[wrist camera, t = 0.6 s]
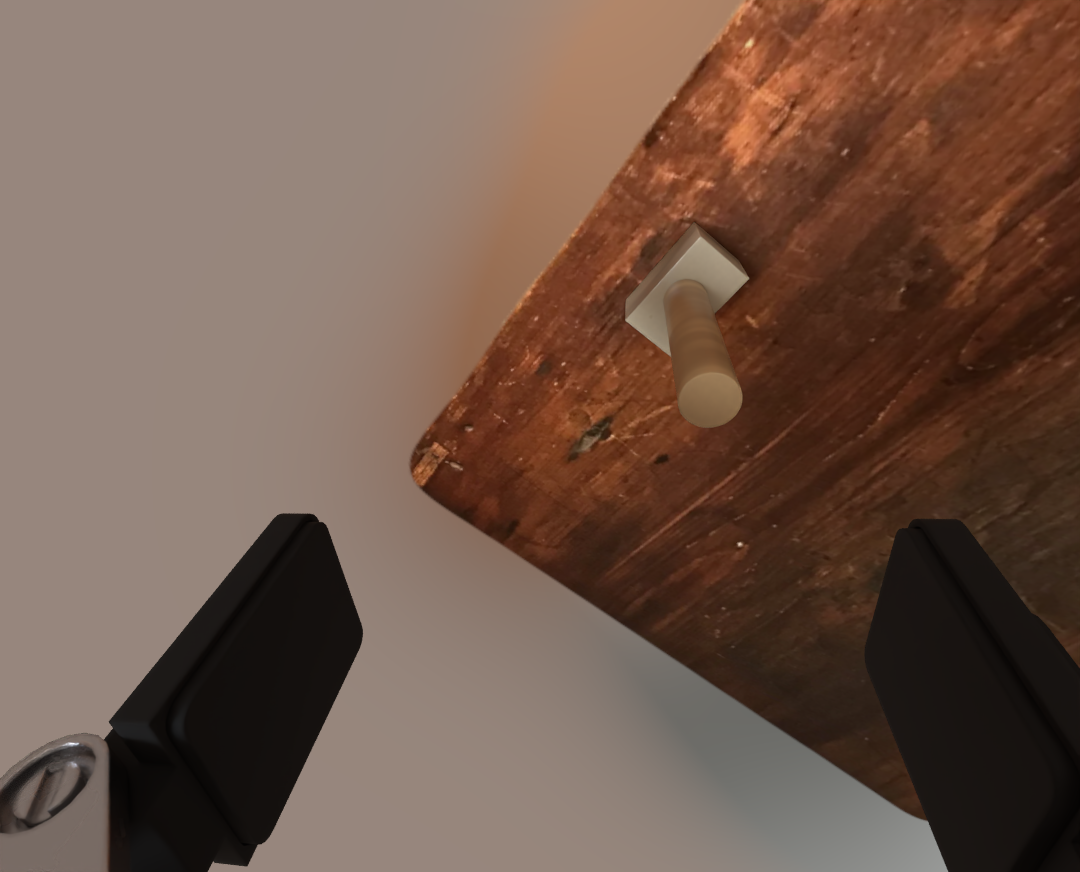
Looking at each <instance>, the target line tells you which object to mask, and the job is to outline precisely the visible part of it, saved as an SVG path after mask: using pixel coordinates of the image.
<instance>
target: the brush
mask: <svg viewBox="0 0 1080 872" xmlns="http://www.w3.org/2000/svg"><path fill="white" fill-rule="evenodd" d="M748 280H749V277H748V275H747V274H746V272H745V270H744V269H743V267H742V265H741V264H740V262H739V260H738V259H736V258H735V257H734V256H733V255H732V254H731V253H730V252H728V251H727V250H726V249H725V248H724V247H723V246H722V245H720V244H719V243H718V242H717V241H716V240H715V239H714V238H712V237H711V236H710V235H709V234H708V233H707V232H706V231H704V230H703V229H702V228H701V227H700V226H699V225H697V224H696V223H695V222H694V223H693V224H692V225H691V226H690V227H689V228H688V230H687V231H686V232H685V233H684V234H683V235H682V236H681V238H680V239H679V240H678V241H677V242H676V243H675V244H674V246H673V247H672V248H671V249H670V250H669V251H668V252H667V254H666V255H665V256H664V257H663V258H662V259H661V260H660V262H659V263H658V264H657V265H656V266H655V267H654V268H653V270H652V271H651V272H650V273H649V274H648V275H647V276H646V278H645V279H644V280H643V281H642V282H641V283H640V284H639V286H638V287H637V288H636V289H635V290H634V291H633V292H632V294H631V295H630V296H629V297H628V298H627V299H626V310H625V321H626V322H628V323H629V324H630V325H631V326H633V327H634V328H635V329H637V330H638V331H639V332H640V333H642V334H643V335H644V336H645V337H647V338H648V339H649V340H650V341H652V342H653V343H654V344H655V345H657V346H658V347H659V348H660V349H662V350H663V351H664V352H665V353H667V354H668V355H669V356H670V357H671V360H672V367H673V374H674V381H675V387H676V394H677V401H678V407H679V410H680V413H681V414H682V416H683V417H684V418H685V419H686V420H687V421H688V422H690V423H691V424H693V425H696V426H699V427H705V428H711V427H717V426H720V425H723V424H725V423H727V422H728V421H730V420H731V419H732V418H733V417H734V416H735V415H736V414H737V413H738V411H739V410H740V407H741V405H742V399H743V397H742V391H741V388H740V385H739V382H738V379H737V376H736V374H735V371H734V368H733V365H732V362H731V360H730V357H729V354H728V351H727V348H726V345H725V343H724V340H723V337H722V334H721V331H720V328H719V326H718V323H717V320H716V317H715V313H716V312H717V311H718V310H719V309H720V308H721V307H722V306H723V305H724V304H725V303H726V302H727V301H728V300H729V299H730V298H731V297H732V296H733V295H734V294H735V293H736V292H737V291H738V290H739V289H740V288H741V287H742V286H743V285H744V284H745V283H746V282H747V281H748Z"/></svg>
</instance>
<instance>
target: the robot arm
mask: <svg viewBox="0 0 1080 872" xmlns="http://www.w3.org/2000/svg"><path fill="white" fill-rule="evenodd" d="M362 637H363V629H362V625H361V622H360V619H359V616H358V613H357V610H356V608H355V605H354V602H353V599H352V596H351V593H350V591H349V588H348V585H347V582H346V579H345V577H344V574H343V571H342V568H341V565H340V562H339V559H338V556H337V554H336V551H335V548H334V545H333V542H332V539H331V536H330V534H329V531H328V528H327V526H326V525H325V524H324V523H323V522H319V520H318V519H317V517H316V516H315V515H313V514H279V515H277V516H276V517H275V518H274V519H273V520H272V521H271V523H270V524H269V525H268V526H267V528H266V529H265V530H264V531H263V532H262V534H261V535H260V536H259V537H258V539H257V540H256V541H255V542H254V544H253V545H252V546H251V547H250V549H249V550H248V551H247V552H246V553H245V555H244V556H243V557H242V558H241V560H240V561H239V562H238V563H237V564H236V566H235V567H234V568H233V569H232V571H231V572H230V573H229V574H228V576H227V577H226V578H225V579H224V581H223V582H222V583H221V584H220V585H219V587H218V588H217V589H216V590H215V592H214V593H213V594H212V595H211V597H210V598H209V599H208V600H207V601H206V603H205V604H204V605H203V606H202V608H201V609H200V610H199V611H198V612H197V614H196V615H195V616H194V617H193V619H192V620H191V621H190V622H189V624H188V625H187V626H186V627H185V628H184V630H183V631H182V632H181V633H180V635H179V636H178V637H177V638H176V640H175V641H174V642H173V643H172V645H171V646H170V647H169V648H168V649H167V651H166V652H165V653H164V654H163V656H162V657H161V658H160V659H159V661H158V662H157V663H156V664H155V665H154V667H153V668H152V669H151V670H150V672H149V673H148V674H147V675H146V676H145V678H144V679H143V680H142V682H141V683H140V684H139V685H138V686H137V688H136V689H135V690H134V691H133V692H132V694H131V695H130V696H129V697H128V699H127V700H126V701H125V702H124V704H123V705H122V706H121V707H120V709H119V710H118V711H117V712H116V713H115V715H114V716H113V717H112V718H111V720H110V721H109V723H110V724H111V726H112V727H113V729H112V730H111V732H110V733H109V734H108V735H107V736H106V738H105V739H104V740H103V739H102V738H101V737H99V736H98V735H94V734H88V733H81V734H74V735H68V736H65V737H63V738H60V739H57V740H55V741H52V742H49V743H47V744H46V745H44V746H42V747H40V748H39V749H37V750H35V751H33V752H32V753H30V754H28V755H27V756H26V757H25V758H23V759H22V760H21V761H19V762H18V763H17V764H16V765H14V766H13V767H11V768H10V769H9V770H8V771H7V772H6V773H5V774H4V775H3V777H1V778H0V872H208V870H209V868H210V866H211V864H212V862H213V861H214V862H215V863H221V864H230V865H239V866H248V864H249V862H250V859H251V858H252V855H253V853H254V851H255V849H256V847H257V845H258V844H262V843H264V842H265V841H266V840H267V839H268V838H269V837H270V835H271V833H272V831H273V829H274V827H275V825H276V823H277V821H278V819H279V817H280V815H281V813H282V811H283V808H284V806H285V804H286V802H287V800H288V798H289V796H290V794H291V792H292V789H293V787H294V785H295V783H296V781H297V779H298V777H299V775H300V773H301V771H302V769H303V766H304V764H305V762H306V760H307V758H308V756H309V754H310V752H311V749H312V747H313V745H314V743H315V741H316V739H317V737H318V735H319V733H320V731H321V729H322V726H323V724H324V722H325V720H326V718H327V716H328V714H329V712H330V710H331V708H332V705H333V703H334V701H335V699H336V697H337V695H338V693H339V690H340V689H341V687H342V684H343V682H344V680H345V678H346V676H347V674H348V671H349V670H350V668H351V665H352V663H353V661H354V659H355V657H356V655H357V653H358V651H359V649H360V646H361V643H362ZM865 663H866V667H867V671H868V673H869V676H870V678H871V681H872V683H873V686H874V688H875V691H876V693H877V696H878V698H879V701H880V703H881V706H882V708H883V711H884V713H885V716H886V718H887V721H888V723H889V726H890V728H891V731H892V733H893V736H894V738H895V740H896V743H897V745H898V748H899V750H900V753H901V755H902V758H903V760H904V763H905V765H906V768H907V770H908V773H909V775H910V778H911V780H912V783H913V785H914V788H915V790H916V793H917V795H918V798H919V800H920V803H921V805H922V808H923V810H924V813H925V815H926V817H927V820H928V822H929V825H930V827H931V830H932V832H933V835H934V837H935V840H936V842H937V845H938V847H939V850H940V852H941V855H942V857H943V859H944V862H945V864H946V867H947V870H948V872H1080V668H1079V667H1078V666H1077V664H1076V663H1075V662H1074V661H1073V659H1072V658H1071V657H1070V655H1069V654H1068V653H1067V651H1066V650H1065V649H1064V647H1063V646H1062V645H1061V644H1060V642H1059V641H1058V640H1057V638H1056V637H1055V636H1054V634H1053V633H1052V632H1051V630H1050V629H1049V628H1048V627H1047V625H1046V624H1045V623H1044V622H1043V621H1042V620H1041V619H1040V618H1039V617H1038V616H1036V615H1034V614H1032V613H1031V612H1030V611H1029V609H1028V608H1027V607H1026V605H1025V604H1024V603H1023V601H1022V600H1021V599H1020V597H1019V596H1018V595H1017V593H1016V592H1015V591H1014V589H1013V588H1012V587H1011V585H1010V584H1009V583H1008V581H1007V580H1006V579H1005V577H1004V576H1003V575H1002V573H1001V572H1000V571H999V569H998V568H997V567H996V566H995V564H994V563H993V562H992V560H991V559H990V558H989V556H988V555H987V554H986V552H985V551H984V550H983V548H982V547H981V546H980V544H979V543H978V542H977V540H976V539H975V538H974V536H973V535H972V534H971V532H970V531H969V530H968V528H967V527H966V526H965V525H964V524H963V523H962V522H961V521H959V520H957V519H915V520H913V521H912V522H911V523H910V524H909V526H908V528H902V529H899V530H898V531H897V533H896V536H895V540H894V543H893V547H892V550H891V554H890V558H889V561H888V565H887V569H886V572H885V576H884V580H883V583H882V587H881V591H880V594H879V598H878V602H877V605H876V609H875V612H874V616H873V620H872V623H871V627H870V631H869V634H868V638H867V642H866V645H865Z"/></svg>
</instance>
